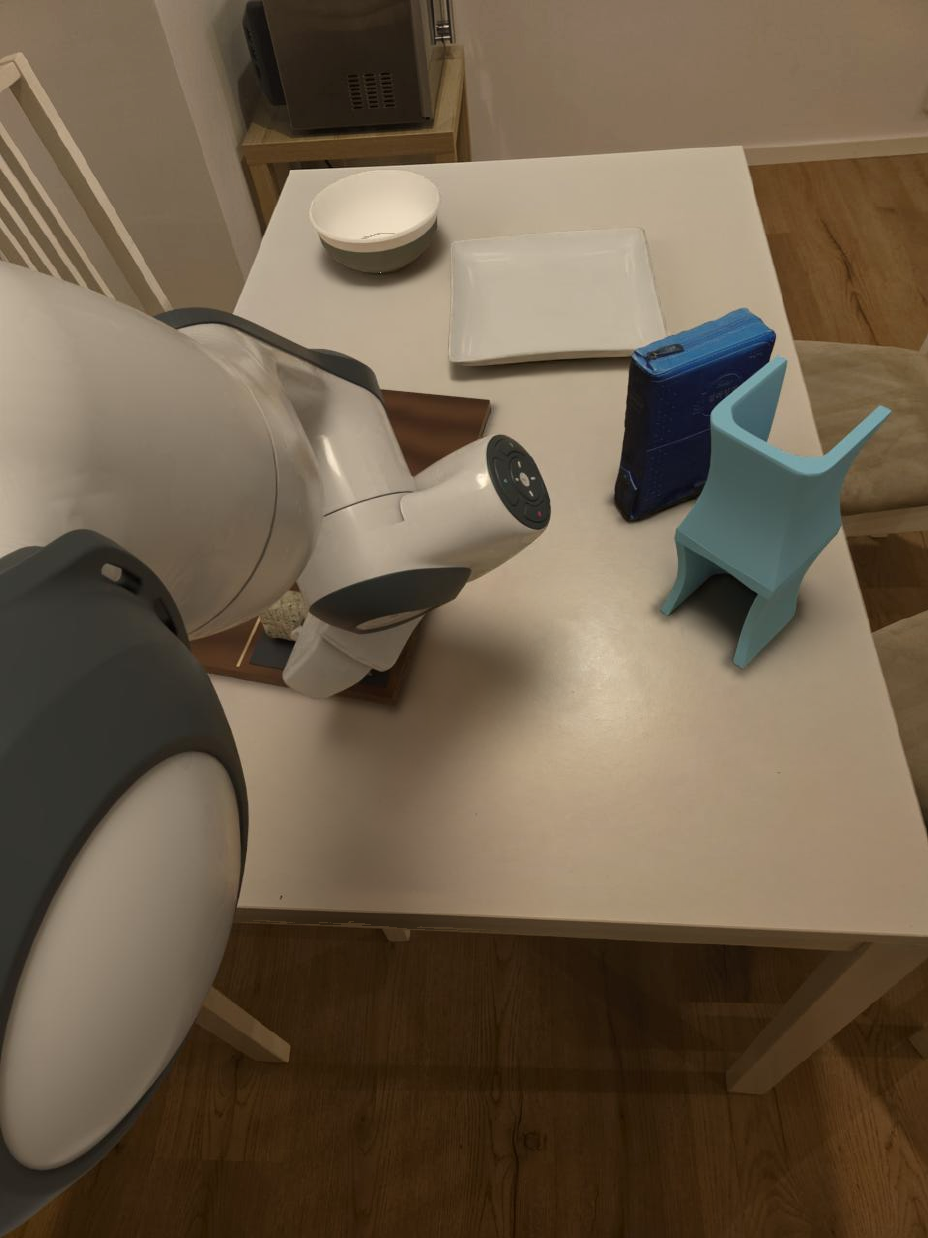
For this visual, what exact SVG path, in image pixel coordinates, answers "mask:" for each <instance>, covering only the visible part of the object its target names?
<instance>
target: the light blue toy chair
mask: <svg viewBox="0 0 928 1238" xmlns="http://www.w3.org/2000/svg"><path fill="white" fill-rule="evenodd" d="M787 366H788V359H787V358H785V357H783V356H781V355H779V354H777V355H776V356H774V357H773V358H772V359H770V361H769V363H767V364H766V365H765V366H764V367H762V368H761V369H760V370H759V371H758V372H756V373H755V374H754V375H753V376H751V377H750V378H749V379H748V380H747V381H745V382H744V383H743V384H742V385H740V386H739V387H738V388H737V389H736V390H734V391H733V392H732V393H731V394H730V395H728V396H727V397H726V398H725V399H724V400H722V401H721V402H720V403H719V404H718V405H717V406H716V407H715V408H714V409H713V411H712V412H711V416H710V424H711V462H710V469H709V473H708V478H707V481H706V484H705V486H704V488H703V491H702V493H700V494H699V496H698V498H697V500H696V501H695V503H694V505H693V506H692V507H691V509H690V510H689V512H688V513H687V515H686V516H685V517H684V518H683V520H682V521H681V522H680V523H679V525H678V526H677V527H676V529H675V533H674V538H673V539H674V543H675V548H676V555H677V573H676V578H675V582H674V585H673V587H672V589H671V591H670V593H669V595H668V596H667V598H666V600H665V601H664V603H663V604H662V606H661V607H660V609H659V612H661V613H662V614H664V615H665V616H667V617H668V616H669V615H670V614H672V613H673V611H675V610H676V609H677V608H679V606H680V605H681V604H682V603H683V602H684V601H686V599H688V597H690V596H691V595H692V594H693V593H694V592H695V591H697V590H698V588H699V587H701V585H703V584H704V583H705V582H706V581H707V580H708V579H709V578H710V577H711V576H713V575H716V574H730V575H731V576H733V577H734V578H735V579H737V580H738V581H739V582H741V583H742V584H743V585H744V586H746V587H747V588H748V589H750V590H751V591H753V592H755V593H756V594H757V595H756V597H755V599H754V601H753V603H752V605H751V607H750V608H749V611H748V613H747V615H746V618H745V621H744V623H743V626H742V629H741V632H740V635H739V638H738V642H737V645H736V649H735V654H734V657H733V660H732V663H733V664H734V665H736V666H737V667H739V668H740V669H741V670H744V669H745V668H746V667H747V666H748V665H749V664H750V662H751V661H752V660H754V658H755V657H756V656H758V655H759V654H760V652H761V651H762V650H763V649H764V648H766V646H767V645H769V643H770V642H771V641H772V640H773V639H774V638H775V637H776V636H777V635H778V634H779V633H780V632H781V631H783V629H784V628H785V627H786V626H787V625H788V624H789V623H790V622H791V620H792V619H793V618H794V616H795V614H796V610H797V603H798V596H799V592H800V588H801V585H802V583H803V580H804V577H805V576H806V574H807V572H808V570H809V569H810V567H811V566H812V565H813V563H814V562H815V561H816V559H817V558H818V557H819V556H820V555H821V553H822V552H823V551H824V550H825V548H826V547H827V546H828V545H829V544H830V543H831V542H832V541H833V540H834V538H835V537H837V535H838V534H839V532H840V530H841V527H842V525H843V523H842V513H841V495H842V487H843V485H844V482H845V478H846V475H847V474H848V472H849V471H850V468H851V466H852V465H853V463H854V461H855V460H856V459H857V457H858V455H859V454H860V453H861V451H862V450H863V448H864V447H865V446H866V445H867V444H868V442H869V440H870V439H871V438H872V437H873V436H874V435H875V433H876V432H877V431H878V430H879V429H880V428H881V426H882V425H883V424H884V423H885V421H886V420H887V419H888V418H890V416H891V414H892V413H893V410H892V409H889V408H887V407H885V406H883V405H881V404H880V405H878V406H876V408H875V409H874V410H872V411H871V412H870V413H869V414H868V415H867V416H866V417H865V418H864V419H863V420H862V421H860V423H858V425H856V426H855V427H854V428H853V429H852V430H851V431H849V432H848V434H847V435H845V436H844V438H842V439H841V440H840V441H839V442H838V443H837V444H836V445H835V446H834V447H833V448H831V449H830V450H829V451H828V452H827V453H825V454H824V455H821V456H802V455H797V454H792V453H790V452H787V451H784V450H782V449H780V448H778V447H777V446H774V445H773V444H771V443H769V442H768V440H769V438H770V434H771V431H772V426H773V423H774V419H775V416H776V412H777V408H778V405H779V401H780V397H781V393H782V389H783V385H784V380H785V376H786V371H787Z"/></svg>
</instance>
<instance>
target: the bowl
mask: <svg viewBox="0 0 928 1238" xmlns="http://www.w3.org/2000/svg"><path fill="white" fill-rule="evenodd" d="M441 203H442V200H441V194H440V191H439V189H438V187H437V185H436V184H435V183H433V181H431V180H430V179H428V178H427V177H426V176H424V175H422V174H419V173H417V172H412V171H410V170H409V171H408V170H404V169H403V170H402V169H373V170H367V171H362V172H361V171H360V172H357V173H354V174H351V175H348V176H345V177H342V178H341V179H337V180H336V181H334V182H332V183H330V184H328V185H327V186H326V187H324V188H323V189H322V190H321V191H319V192H318V194H317V195H316V196H315V197H314V199H313V200H312V202H311V204H310V205H309V210H308V218H309V222H310V224H311V225H312V227H313V228H314V230H315V231H316V232H317V234H318V237H319V240H320V243H321V245H322V247H323V248H324V250H325V251H326V252H327V253H328V254H329V255H330V256H331V258H333V259H334V261H336V262H337V263H340V264H341V265H343V266H344V267H345V266H346V267H347V268H350V269H352V270H355V271H358V272H364V273H367V274H371V275H388V274H392V273H395V272H398V271H400V270H402V269H403V268H405V267H407V266H408V265H409V264H411V263H413V262H414V261H416V260H417V259H418V258H419V257H420V256H421V255H422V254H423V253H424V252H425V251H426V250H427V249H428V248H429V246H430V245H431V243H432V242H433V240H434V237H435V235H436V232H437V229H438V214H439V209H440V206H441ZM377 233H395V234H380V235H375V236H372V237H369V238H367V239H361V238H363V237H364V236H370V235H374V234H377ZM380 272H381V273H380Z"/></svg>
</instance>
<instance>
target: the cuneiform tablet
mask: <svg viewBox="0 0 928 1238" xmlns="http://www.w3.org/2000/svg"><path fill="white" fill-rule="evenodd" d="M308 612H309V609H308V607H307V605H306V603H305V601H304V599H303V596H302V594H301V592H295V591H289V590H288V591H287V592H286V593H285V594H284V596H283V597H282V598H280V599H279V600H278V601H277V602H276V603H275V604H274V605H272V606H271V607H270V608H268V609H267V610H266V611H264V612H263V613H261V614H260V615H259V618H260V621H261V623H262V625H263V627H264V630H265V633H266V634H267V636H269V637H271V638H282V639H288V640H290V641H295V640H293V639H291V637H290V634H291V632H292V630H293V628H294V626H295V623H296V622H298V621H299V620H301V619H302V618H304V619H306V617H307V614H308ZM366 676H367V677H373V678H374V677H375V675H374V672H373V668H372V669H371V670H370V671H369V672H368V674H367V675H366Z"/></svg>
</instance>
